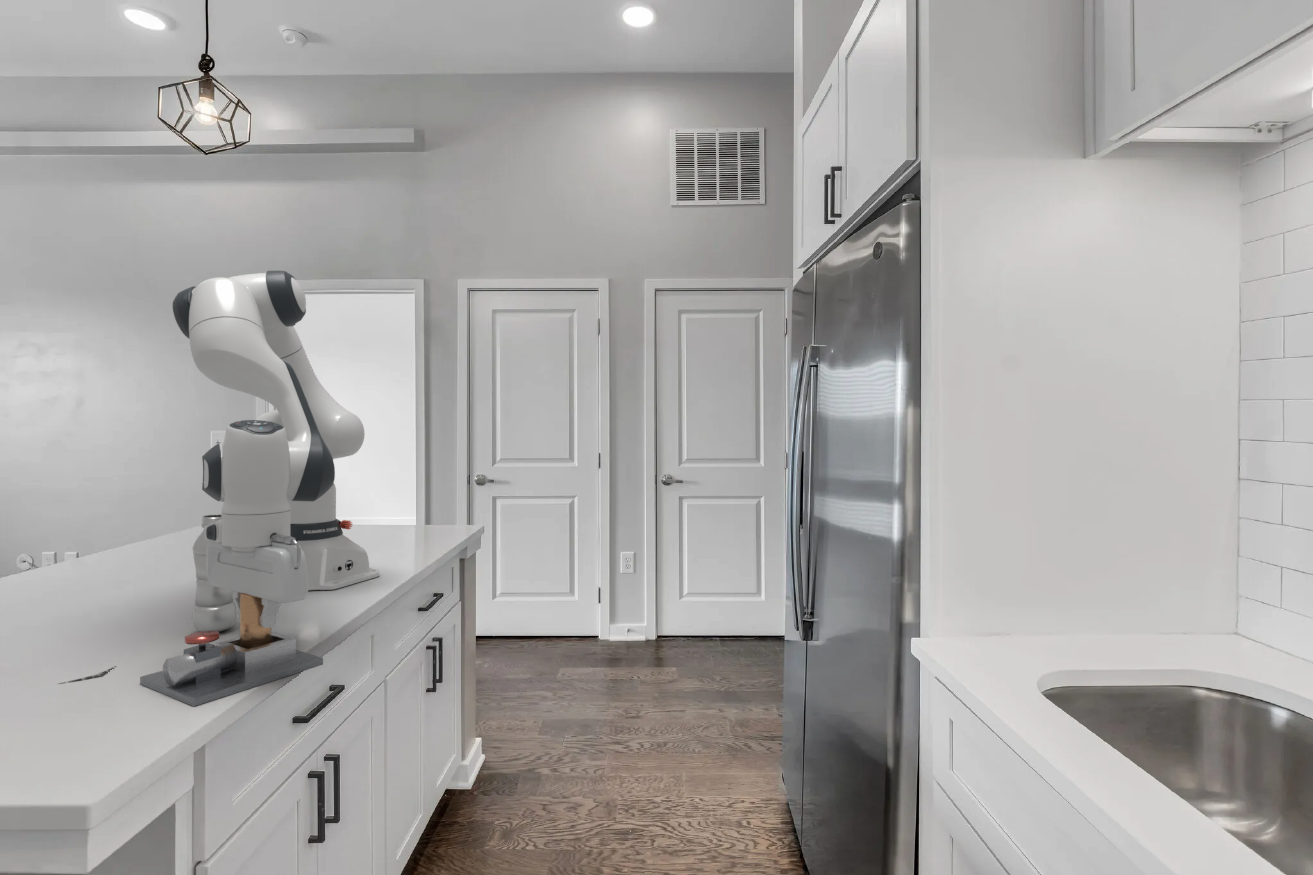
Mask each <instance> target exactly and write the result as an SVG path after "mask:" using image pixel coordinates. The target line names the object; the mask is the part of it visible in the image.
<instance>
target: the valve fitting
mask: <svg viewBox="0 0 1313 875" xmlns="http://www.w3.org/2000/svg"><path fill="white" fill-rule="evenodd" d="M219 639H220V631H219V632H217V631H203V632H198V631H197V632H193V633H190V634H187V635H186V636H184V644H187V645H196V646H192V647H188V648H184V649H183V654H182V655H181V654H180V655H177V656H174V657H168V658H166V659H165V660H164V662H163V665H162V670H160V671H156V672H153V673H149V674H146V675H143V676H140V677H139V684H140V685H141V686H143V687H146V688H149V689H151V690H153V691H156V692H157V693H160V694H163V695H165V696H167V697H170V698H172V699H175V700H177V701H179V702H182V703H183V704H187V705H190V706H192V707H196V706H197V707H198V706H201V705H203V704H206V703H209V702H213V701H215V700H218V699H222V698H225V697H227V696H231V695H234V694H236V693H240V692H242V691H246V690H249V689H253V688H255V687H259V686H261V685H265V684H268V683H271V682H274V681H277V680H279V679H283V678H287V677H289V676H292V675H295V674H299V673H301V672H304V671H308V670H311V669H314V668H317V667H320V666H322V665H324V658H323V657H321V656H318V655H314V654H312V653H308V652H305V651H300V650H297V638H295V637H292V636H288V635H285V634H281V633H278V632H274V631H271V643H270V644H266V645H262V646H259V647H255V648H252V649H245V648H242V647H240V636H239V637H235V638H230V639H227V640H224V641H220V642H216V643H215V644H212V642H215V641H217V640H219Z"/></svg>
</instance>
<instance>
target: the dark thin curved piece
mask: <svg viewBox="0 0 1313 875" xmlns="http://www.w3.org/2000/svg"><path fill="white" fill-rule="evenodd" d="M115 668H117V666H116V665H114V666H112V667H110V668H108V669H106V670H104V671H101V672H99V673H97V674H96V673H95V674H93V675H90V676H89V675H88V676H85V677H81V678H76V679H73V680H68V681H64V682H59V683H58V685H64V684H68V683H69V684H70V683H76V682H81V681H82V682H84V681H87V680H92V679H93V680H94V679H98V678H99V679H100V678H103V677H104V676H107V674H109V673H110V670H112V669H113V670H115ZM113 670H112V671H113ZM108 672H109V673H108Z"/></svg>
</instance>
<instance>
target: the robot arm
mask: <svg viewBox="0 0 1313 875" xmlns="http://www.w3.org/2000/svg"><path fill="white" fill-rule="evenodd" d="M306 299H307V298H306V294H305V291H304V290H303V287H302V286H301V284H300V283H299V281H297V279H296V278H295V276H294V275H293V274H291V273H289V272H288V271H286V270H267V271H266V272H258V273H249V274H248V273H246V274H239V275H235V276H233V275H232V276H230V277H223V276H220V277H211V278H208V279H205V280H203V281H202V282H200V283H199V284H198V285H196V286H191V287H188V288H186V289H182V290H181V291H179V292H178V293H177V294H176V295H175V298H174V299H173V301H172V313H173V316H174V320H175V323H176V324H177V326H178V328H179V330H180V331H181V333H182V334H183V335H184V336H185V337H186V338H188V340H189V345H190V352H191V356H192V358H193V362H194V363H195V367H196V368H197V369H198V370H199V372H200V373H201V374H203V375H204V376H205V377H206V378H207V379H209V380H211V381H212V382H214V383H215V384H218V385H220V386H222V387H225V388H228V389H231V390H234V391H237V392H242V393H245V394H248V395H251V396H254V397H257V398H259V399H261V400H264V401H266V402H267V403H268V404H270V405H271V406H273V407H274V408H275V409H274V410H270V411H267V412H263V413H262V414H260V415H259V416H258V417H257V419H248V420H247V419H243V420H239V421H235V422H231V423H229V424H228V425H227V427H226V429H225V436H224V441H223V442H221V443H217V444H215V445H214V446H213V447H211V448H210V449H208V451H206V452H205V453H204V454H203V455H202V485H201V486H202V487H201V490H202V491H203V492H205V494H206V495H208V496H209V497H211V498H212V499H213V500H215V501H216V502H222V503H223V505H222V507H221V517H222V519H220V520H218V521H216V522H214V523H211V524H209V525H207V526H205V528H203V530H204V538H205V539H206V540H209V542H208V544H207V547H206V568H207V577H208V580H209V582H210V584H211V585H212V586H215V587H219V588H223V589H227V590H231V591H232V597H233V600H234V603H235V607H236V610H237V620H238V621H239V622H240V594H241V593H243V594H247V595H251V596H255V597H259V598H262V605H264V608H263V611H262V614H261V615H258V621H259V622H258V625H259V626H260V627H264V628H269V627H271V628H272V627H274V626H275V625H276V623H277V621H276V620H277V613H278V612H279V611H278V610H279V608H280V607H281V604H289V603H295V602H298V601H299V602H300V601H303V600H304V599H305V598H306V597H307V595H308V592H309V591H317V590H318V591H319V590H320V591H325V590H327V591H328V590H337V589H340V588H343V587H347V586H350V585H354V584H357V583H361V582H364V581H367V580H371V579H374V578H378V577H380V574H381V573H380V571H379V570H378V569H377V568H376V569H375V568H373V567H370V562H369V556H368V553H367V551H366V549H365V548H364V547H362V546H360V545H359V544H357V543H356V542H355V541H353V540H352V539H350V538H349V537H347V536H345V535H344V532H343V530H345V529H346V530H350V529H352V527H353V522H352V521H351V520H346V519H343V520H339V519H337V488H336V485H335V476H336V475H335V474H336V473H335V469H336V468H335V463H334V459H340V458H346V457H351V456H353V455H355V454H357V453H358V452H359V451H360V449H361V448H362V446H363V443H364V440H365V434H366V433H365V428H364V427H365V426H364V425H363V422H362V420H361V419H360V418H359V416H357V415H356V414H354V413H352V412H351V411H349V410H347V409H346V408H344V407H343V406H342V405H341V404H340V403H338V401H337V400H336V399H335V398H334V397H333V396H331V394H330V393H329V391H328V390H327V389H325V387H324V386H323V385H322V383H321V382H320V380H319V379H318V378H317V375H316V373H315V371H314V369H313V367H312V365H311V362H310V360H309V358H308V356H307V353H306V351H305V349H304V348H305V347H304V346H303V344H302V341H301V339H300V336H299V335H298V333H297V330H296V328H295V327H294V326H296V324H297V323H299V322H300V321H302V320H303V318H304V317H305V315H306V313H307V308H306V307H307V300H306Z"/></svg>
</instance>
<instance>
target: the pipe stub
mask: <svg viewBox="0 0 1313 875" xmlns="http://www.w3.org/2000/svg"><path fill="white" fill-rule="evenodd" d="M263 608H264V605H262V598H259V597H255V596H251V595H247V594H243V593H241V594H240V621H239V637H240V647H242V648H245V649H252V648H255V647H259V646H262V645H266V644H270V643H271V632H272V627H269V628H264V627H260V626H259V625H258V622H259V621H258V615H261V614H262V611H263Z"/></svg>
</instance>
